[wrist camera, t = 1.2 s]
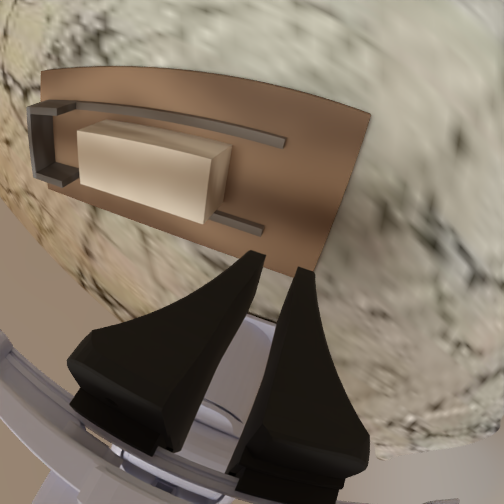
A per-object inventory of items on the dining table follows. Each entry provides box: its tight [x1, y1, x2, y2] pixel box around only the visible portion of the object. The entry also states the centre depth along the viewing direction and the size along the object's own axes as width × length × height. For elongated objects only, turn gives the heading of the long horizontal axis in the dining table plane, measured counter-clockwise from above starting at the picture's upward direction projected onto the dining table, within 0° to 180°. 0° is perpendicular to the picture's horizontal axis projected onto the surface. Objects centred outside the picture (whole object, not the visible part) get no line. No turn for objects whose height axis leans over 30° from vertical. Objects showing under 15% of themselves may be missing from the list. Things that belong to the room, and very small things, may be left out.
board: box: [27, 66, 371, 278], centre depth 18 cm, size 12×26×3 cm, turn 78°
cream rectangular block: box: [77, 120, 232, 224], centre depth 17 cm, size 4×10×3 cm, turn 78°
